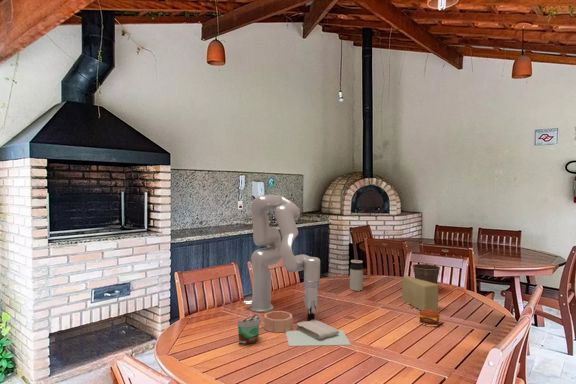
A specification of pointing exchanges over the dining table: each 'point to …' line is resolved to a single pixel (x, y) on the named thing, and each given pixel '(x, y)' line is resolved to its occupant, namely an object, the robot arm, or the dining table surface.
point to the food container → (249, 330)
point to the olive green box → (420, 293)
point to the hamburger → (429, 317)
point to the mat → (315, 339)
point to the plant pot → (426, 272)
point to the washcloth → (317, 329)
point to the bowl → (278, 321)
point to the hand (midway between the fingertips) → (310, 321)
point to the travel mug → (356, 275)
